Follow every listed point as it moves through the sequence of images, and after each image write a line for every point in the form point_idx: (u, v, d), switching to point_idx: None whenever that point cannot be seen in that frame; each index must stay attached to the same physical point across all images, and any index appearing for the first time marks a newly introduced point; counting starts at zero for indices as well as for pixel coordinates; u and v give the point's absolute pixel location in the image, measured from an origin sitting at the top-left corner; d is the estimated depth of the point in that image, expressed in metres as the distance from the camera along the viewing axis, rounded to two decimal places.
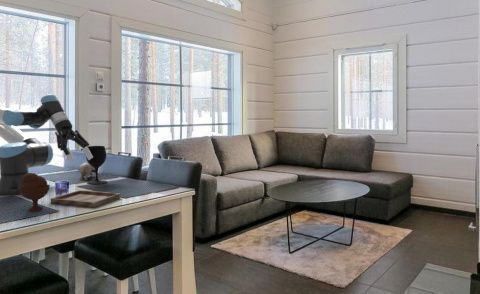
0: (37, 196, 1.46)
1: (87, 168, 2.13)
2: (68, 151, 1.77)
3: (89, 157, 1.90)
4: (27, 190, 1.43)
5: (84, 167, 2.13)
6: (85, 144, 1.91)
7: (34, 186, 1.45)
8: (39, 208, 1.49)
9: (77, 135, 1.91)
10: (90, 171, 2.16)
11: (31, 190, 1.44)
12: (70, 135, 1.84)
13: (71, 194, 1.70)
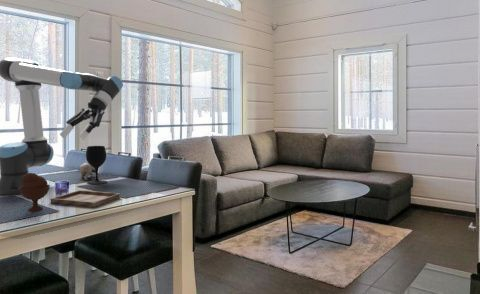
0: (37, 196, 1.46)
1: (87, 168, 2.13)
2: None
3: (63, 135, 1.65)
4: (27, 190, 1.43)
5: (84, 167, 2.12)
6: (74, 125, 1.70)
7: (34, 186, 1.45)
8: (39, 208, 1.49)
9: None
10: (90, 171, 2.15)
11: (31, 190, 1.44)
12: None
13: (71, 194, 1.70)
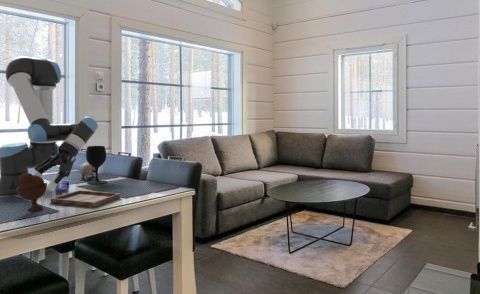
0: (35, 196, 1.45)
1: (87, 168, 2.12)
2: None
3: None
4: (24, 191, 1.43)
5: (84, 167, 2.12)
6: None
7: (31, 187, 1.44)
8: (39, 207, 1.49)
9: None
10: (90, 171, 2.15)
11: (28, 191, 1.43)
12: None
13: (71, 194, 1.70)
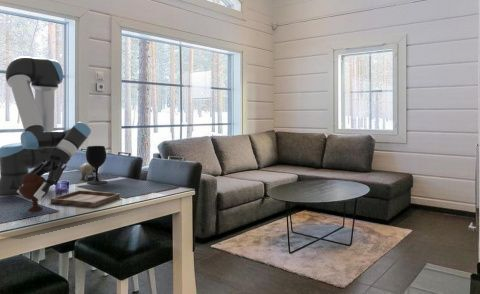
0: None
1: (87, 168, 2.12)
2: None
3: None
4: (27, 190, 1.43)
5: (84, 167, 2.12)
6: None
7: (34, 186, 1.45)
8: (39, 208, 1.49)
9: (43, 166, 1.57)
10: (90, 171, 2.15)
11: (31, 190, 1.43)
12: None
13: (71, 194, 1.70)
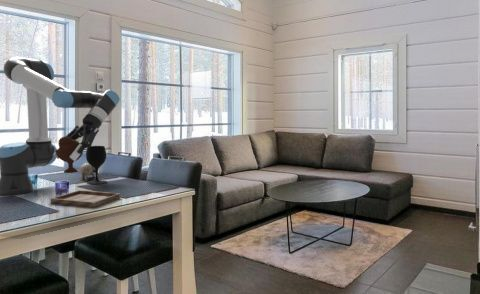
0: None
1: (87, 168, 2.12)
2: None
3: None
4: (64, 152, 1.52)
5: (84, 167, 2.11)
6: None
7: (70, 148, 1.53)
8: (74, 170, 1.57)
9: None
10: (90, 171, 2.14)
11: (67, 152, 1.52)
12: None
13: (71, 194, 1.70)
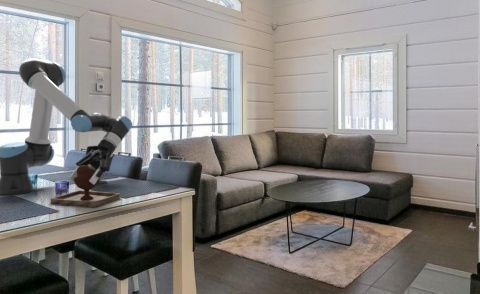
0: (90, 186, 1.62)
1: None
2: None
3: (73, 178, 1.66)
4: (82, 180, 1.59)
5: None
6: None
7: (88, 177, 1.61)
8: (90, 197, 1.64)
9: None
10: None
11: (85, 180, 1.59)
12: None
13: (71, 194, 1.70)
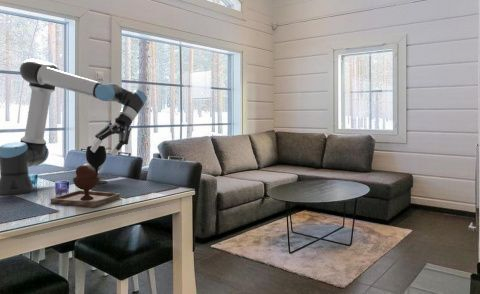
0: (90, 186, 1.62)
1: None
2: None
3: (93, 149, 1.77)
4: (81, 181, 1.59)
5: None
6: (102, 139, 1.81)
7: (87, 177, 1.60)
8: (90, 197, 1.64)
9: None
10: None
11: (85, 181, 1.59)
12: None
13: (71, 194, 1.70)
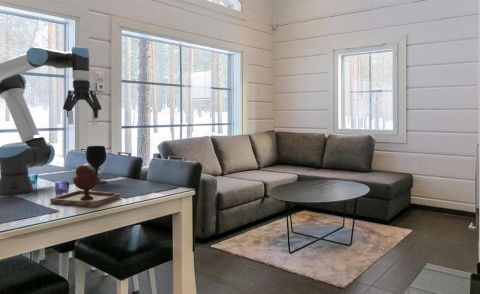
0: (90, 186, 1.62)
1: None
2: None
3: (71, 122, 1.83)
4: (81, 181, 1.59)
5: None
6: (71, 108, 1.83)
7: (87, 177, 1.60)
8: (90, 197, 1.64)
9: (71, 96, 1.82)
10: None
11: (85, 181, 1.59)
12: None
13: (71, 194, 1.70)
